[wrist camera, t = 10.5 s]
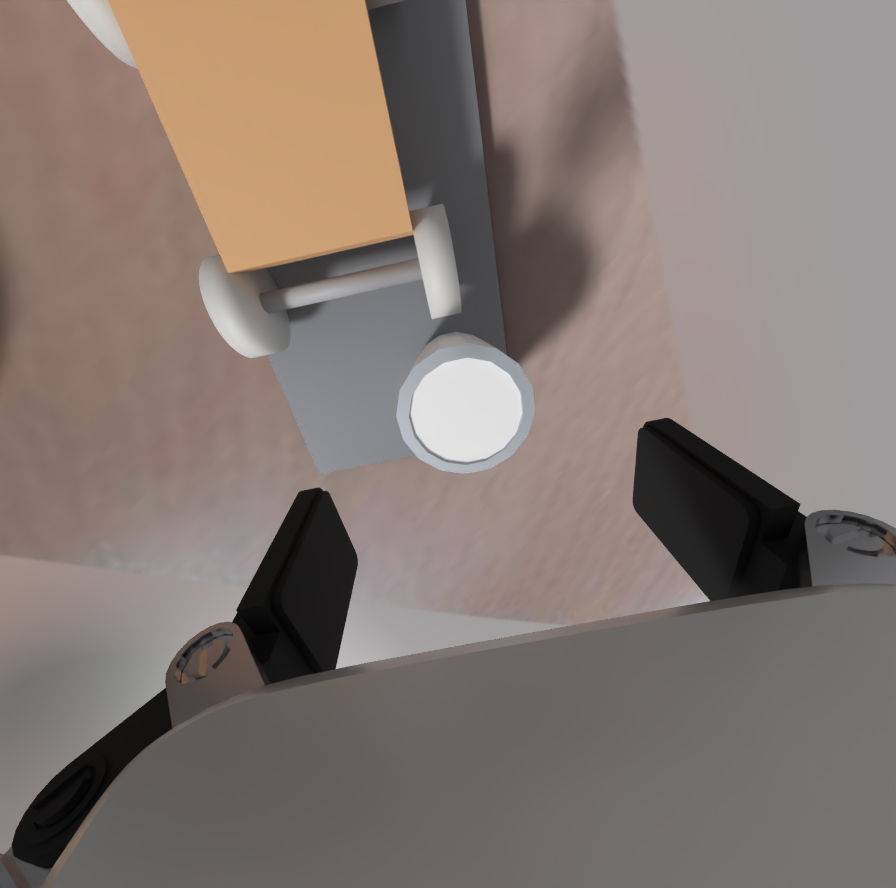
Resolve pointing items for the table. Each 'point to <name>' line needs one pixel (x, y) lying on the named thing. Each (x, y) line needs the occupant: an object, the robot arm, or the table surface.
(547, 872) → the robot arm
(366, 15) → the trolley
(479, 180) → the board
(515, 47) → the table surface
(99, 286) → the table surface
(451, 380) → the white cup
